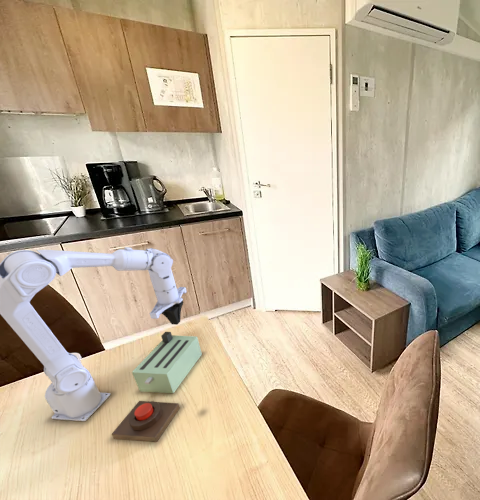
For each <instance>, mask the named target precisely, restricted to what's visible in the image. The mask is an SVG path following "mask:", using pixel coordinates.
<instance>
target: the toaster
mask: <svg viewBox="0 0 480 500" xmlns="http://www.w3.org/2000/svg"><path fill="white" fill-rule="evenodd" d="M172 337H173V339H172V340H171V341H170V342H169V343H166V342H163V340H161V341H160V342H159V343H158V344H157V345H156V346H155V347H154V348H153V349H152V350H151V352H149V353H148V355H147V356H146V357H144V359H143V360H142V361H141V362H140V363H139V364H138V365H137V366H136V367H135V368H134V369H133V370H132V372H131V374H132V376H133V379H134V381H135V383H136V386H137V388H138V390H139V392H143V393H160V394H175V392H176V391H177V389H178V388H179V387H180V385H181V384H182V383H183V382H184V380H185V378H186V377H187V376H188V374H189V373H190V371H191V370H192V369H193V367H195V365H196V363H197V362H198V360H199V359H200V358H201V357H202V355H203V353H202V349H201V346H200V345H201V344H200V342H199V338H198V336H193V335H175V334H172Z"/></svg>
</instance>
